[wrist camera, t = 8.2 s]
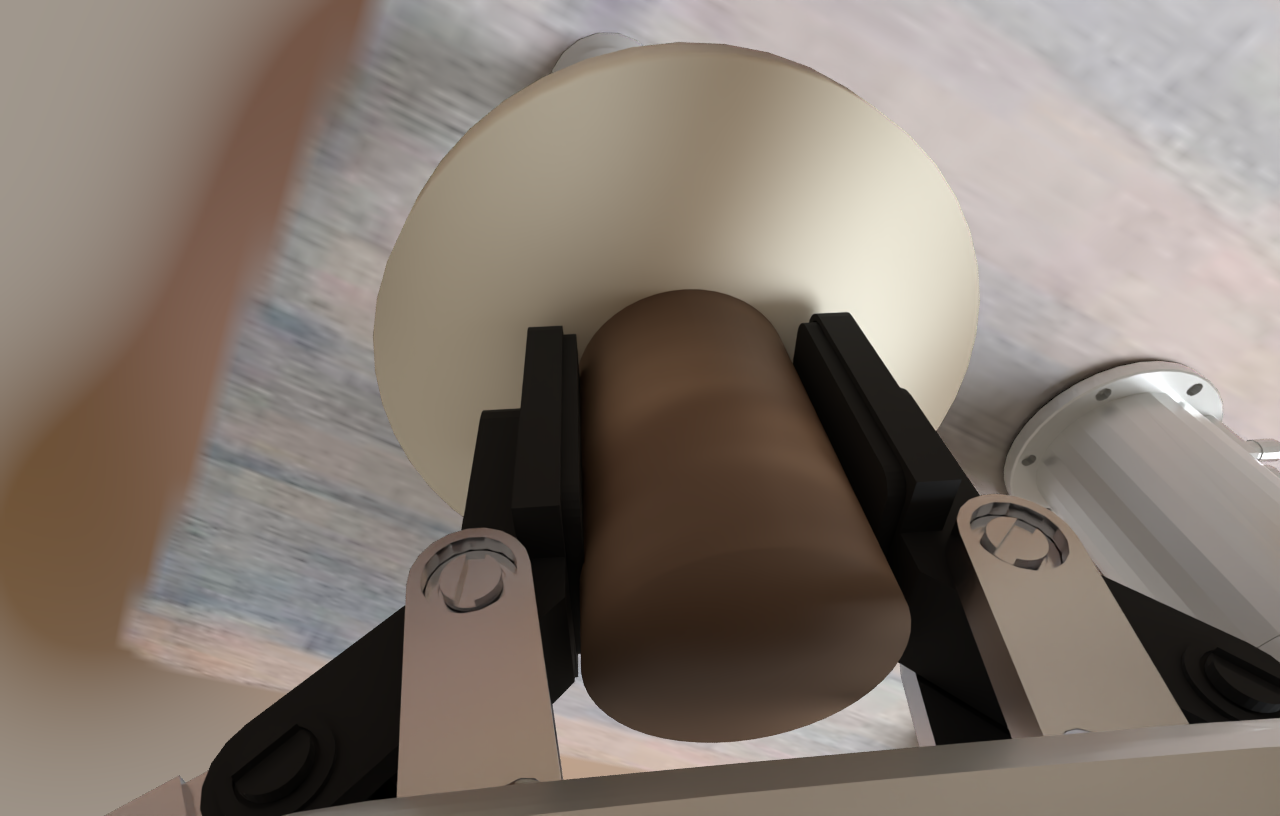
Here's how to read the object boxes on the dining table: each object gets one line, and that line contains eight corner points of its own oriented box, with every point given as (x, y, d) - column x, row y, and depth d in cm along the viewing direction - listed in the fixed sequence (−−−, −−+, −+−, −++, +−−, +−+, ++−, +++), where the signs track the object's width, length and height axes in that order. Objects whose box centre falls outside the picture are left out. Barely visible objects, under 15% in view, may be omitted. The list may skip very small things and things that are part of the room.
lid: (1024, 31, 10) (1519, 180, 5) (885, 517, 16) (1035, 813, 11) (311, 54, 9) (-4, 256, 4) (448, 550, 15) (389, 879, 10)
